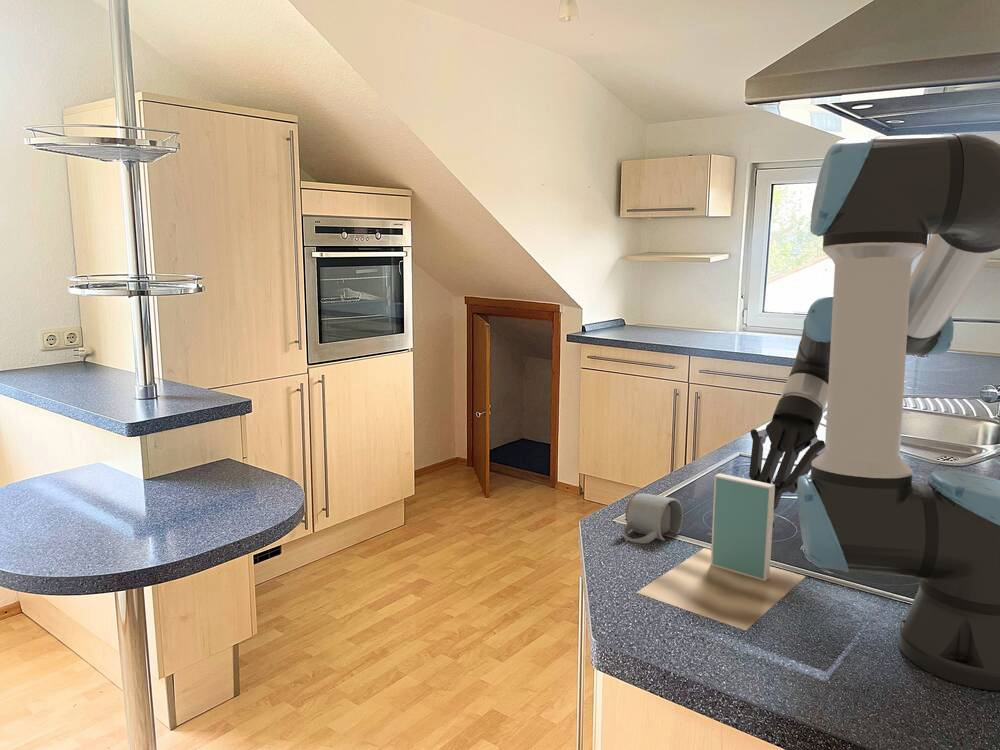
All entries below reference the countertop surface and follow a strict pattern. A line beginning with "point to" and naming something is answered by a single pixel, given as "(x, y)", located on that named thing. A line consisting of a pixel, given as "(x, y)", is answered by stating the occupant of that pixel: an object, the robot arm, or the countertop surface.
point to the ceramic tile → (742, 525)
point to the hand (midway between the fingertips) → (756, 522)
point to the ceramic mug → (652, 517)
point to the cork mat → (720, 590)
